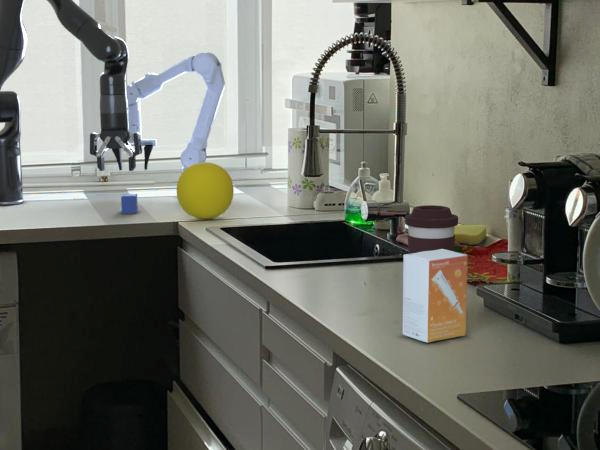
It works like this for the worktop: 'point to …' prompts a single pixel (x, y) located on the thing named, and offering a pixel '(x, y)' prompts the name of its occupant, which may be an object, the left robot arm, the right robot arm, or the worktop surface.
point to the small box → (434, 295)
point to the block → (129, 203)
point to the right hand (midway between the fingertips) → (133, 169)
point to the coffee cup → (431, 228)
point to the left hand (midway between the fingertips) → (116, 170)
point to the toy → (205, 190)
